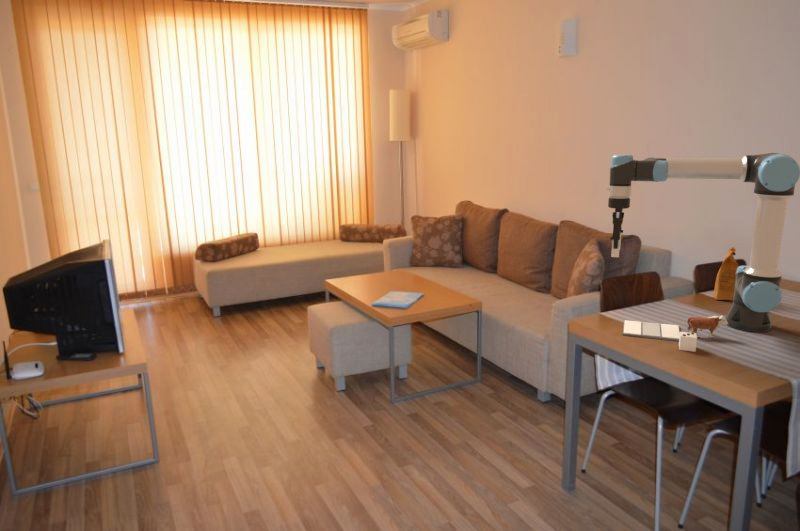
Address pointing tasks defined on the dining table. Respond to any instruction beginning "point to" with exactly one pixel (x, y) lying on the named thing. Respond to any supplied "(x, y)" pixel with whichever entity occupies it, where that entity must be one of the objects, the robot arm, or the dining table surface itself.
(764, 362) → the dining table surface
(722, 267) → the coffee package
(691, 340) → the white block with holes
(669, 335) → the game board
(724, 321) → the bull figurine
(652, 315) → the dining table surface
